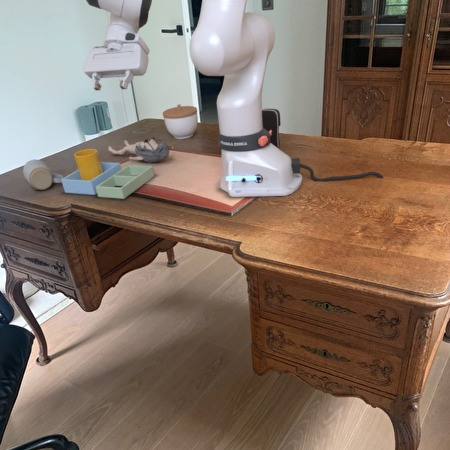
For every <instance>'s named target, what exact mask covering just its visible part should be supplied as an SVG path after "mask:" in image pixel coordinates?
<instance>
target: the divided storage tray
mask: <svg viewBox="0 0 450 450" xmlns="http://www.w3.org/2000/svg"><path fill="white" fill-rule="evenodd" d="M155 176H156V175H155V171H154V167H153V166H152V165H132V164H127V165H126V166H124V167H123V168H121V170H120V171H119V172H117V173H116V174H114V175H113V176H111V177H110V178H108V179H107V180H105V181H103V182H102V183H100V184H99V185H97V186H96V191H97V194H96V195H97V197H98V198H107V199H108V198H109V199H121V200H124V199H126V198H127V197H129V196H130V195H131V194H132V193H134V192H135V191H137V190H138V189H139V188H141V187H142V186H143V185H144V184H146V183H147V182H148V181H150V180H151V179H152V178H153V177H155Z"/></svg>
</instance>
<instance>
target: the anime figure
mask: <svg viewBox="0 0 450 450" xmlns="http://www.w3.org/2000/svg"><path fill="white" fill-rule="evenodd" d="M124 145H125V146H124V147H123V148H122V149H119V150H115V149H113V147H112V146H111V145H109V146H108V147H107V150H108V152H110V153H111V154H112V155H113V156H116V155H120V156H124V155H126V154H127V153H131V154H133V155H136V156H132V155H129V157H128V160H129V161H132V160H134V161H143V162H146V163H152V164H153V163H156V162H157V163H158V162H160V161H164V160H166V159H167V158H169V156H170V148H169V146H168V144H167V142H166V141H165V142H164V141H163V142H161V143H159V142H158V141H157V140H156V138H155V137H152V138H150V140H149V138H147V139H145V140H144V141H138V142H136V143H133V144H130V143H129V142H128V140H126V139H125V140H124Z"/></svg>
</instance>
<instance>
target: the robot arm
mask: <svg viewBox="0 0 450 450" xmlns="http://www.w3.org/2000/svg"><path fill="white" fill-rule="evenodd" d="M85 1H86V3H87V4H88V6H91V7H93V8H96V9H99V10H104V11H106V12H108V13H110V14H109V24H108V25H107V28H106V31H105V36H104V40H103V44H102V45H101V46H94V47H93V48H92V49H91V50H90V51H88V53H87V56H86V58H85V61H84V63H83V68H82V70H83V72H84V73H85V75H86V76H87V77H88V78H89V79H92V81H93V84H92V88H93V90H94V91H95V92H97V91H101V90H102V87H103V86H102V84H101V83H100V82H99V81H101V79H106V78H123V79H121V80H120V82H119V87H120V89H121V90H127V89H128V87H129V84H130V83H131V82H132V81H133V79H134V77H142V76H144V75H145V74H146V73H147V72H148V71H147V70H148V66H149V54H150V48H149V46H148V45H147V43H146V42H145V41H144V39H143V38H142V37H141V35H139V31H140V29H141V28H143V27H144V26H145V25H146V24H147V23H148V20H149V13H150V9H151V7H152V3H153V0H85ZM247 2H248V0H202V1H201V7H200V12H199V13H200V14H199V18H198V21H197V25H196V27H195V29H194V31H193V33H192V35H191V37H190V40H189V49H188V51H189V56H190V59H191V62H192V64H193V66H194V67H195V69H196V70H197V71H198V72H199V73H200V74H201V75H204V76H208V77H224V78H223V81H222V82H223V83H222V87H221V90H220V92H219V93H218V95H217V97H216V98H217V99H216V110H217V111H216V112H217V120H218V129H219V132H218V147H219V153H220V154H221V168H220V169H221V170H220V171H221V172H220V180H219V185H218V186H219V188H220V189H221V190H222V191H224V192H226V193H227V194H228V196H229V197H232V198H244V197H246V198H247V197H250V198H251V197H288V196H289V195H291V194H293V193H295V192H296V191H297V190H298V189H300V187H301V186H302V183H303V175H302V174H301V169H305V170H307V171H308V172H309V175H310V178H311V179H312V180H313V181H314V182H329V181H342V180H353V179H361V178H366V177H369V176H376V177H377V178H379V179H384V176H383V175H382V174H381V173H379V172H377V171H368V172H364V173H359V174H351V175H350V174H349V175H339V176H338V175H337V176H329V177H323V178H319V177H316V176H315V173H314V170H313V169H312V167H311V166H309V165H306V164H303V163H301V159H300V157H295V158H294V157H293V158H292V157H291V156H289V155H288V154H286V153H285V152H284V151H282V150H281V149H279V148H278V147H275V146H274V145H273V144H271V143H270V136H271V135H272V133H271V132H272V130H270V131H269V132H268V131H267V130H265V129H264V128H263V125H262V110H263V105H262V104H263V103H262V102H263V101H262V97H263V86H264V80H265V73H266V68H267V63H268V60H269V57H270V54H271V52H272V51H273V49H274V46H275V42H276V32H275V28H274V26H273V23H272V21H271V20H270V19H269V18H268V17H267V16H265V15H263V14H260V13H256V12H250V11H249V12H248V11H246V10H247V9H246V8H247Z"/></svg>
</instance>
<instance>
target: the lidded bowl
mask: <svg viewBox="0 0 450 450" xmlns="http://www.w3.org/2000/svg"><path fill="white" fill-rule="evenodd" d="M162 117H163V120H164V125H165V127H166V130H167V131H168V133H169V134H170V135H171V136H172V137H173V138H174V139H177V140H181V139H189V138H191V137H193V136H194V133H195V132H196V130H197V128H198V123H199V117H198V108H197V107H196V106H193V105H181V104H180V103H179V104H176V107H170V108H167V109H165V110H164V111H163V112H162Z"/></svg>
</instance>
